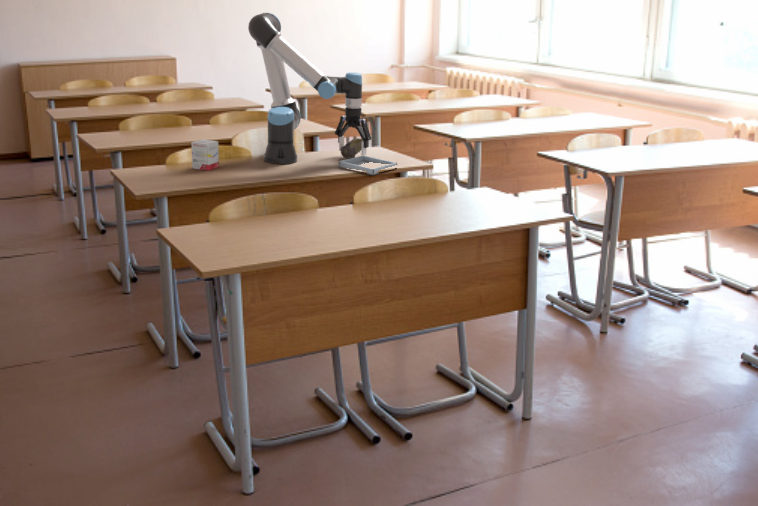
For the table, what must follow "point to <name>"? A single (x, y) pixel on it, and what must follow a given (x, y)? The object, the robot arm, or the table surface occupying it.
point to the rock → (352, 148)
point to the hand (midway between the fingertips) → (352, 152)
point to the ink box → (205, 154)
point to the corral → (355, 162)
